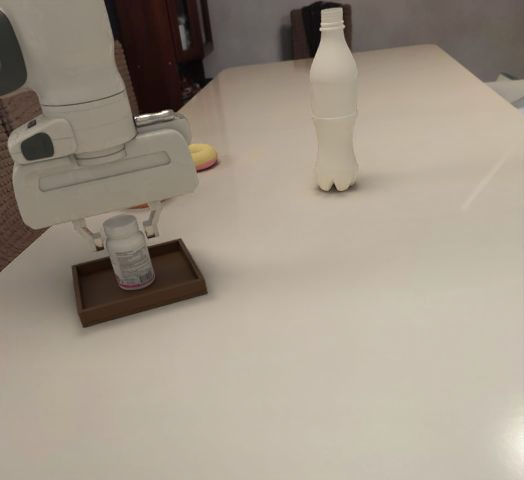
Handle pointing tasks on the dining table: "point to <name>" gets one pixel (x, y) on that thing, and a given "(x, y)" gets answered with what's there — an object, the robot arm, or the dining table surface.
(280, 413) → the dining table surface
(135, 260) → the pill bottle
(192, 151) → the donut
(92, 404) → the dining table surface
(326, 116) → the water bottle
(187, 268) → the tray
